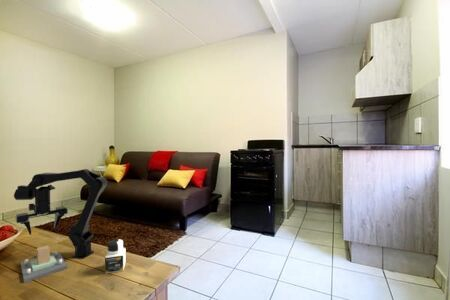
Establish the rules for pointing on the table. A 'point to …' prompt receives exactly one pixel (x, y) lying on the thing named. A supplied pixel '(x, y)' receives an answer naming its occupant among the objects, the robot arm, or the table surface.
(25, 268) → the standoff plate
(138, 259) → the table surface
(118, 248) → the medicine bottle
